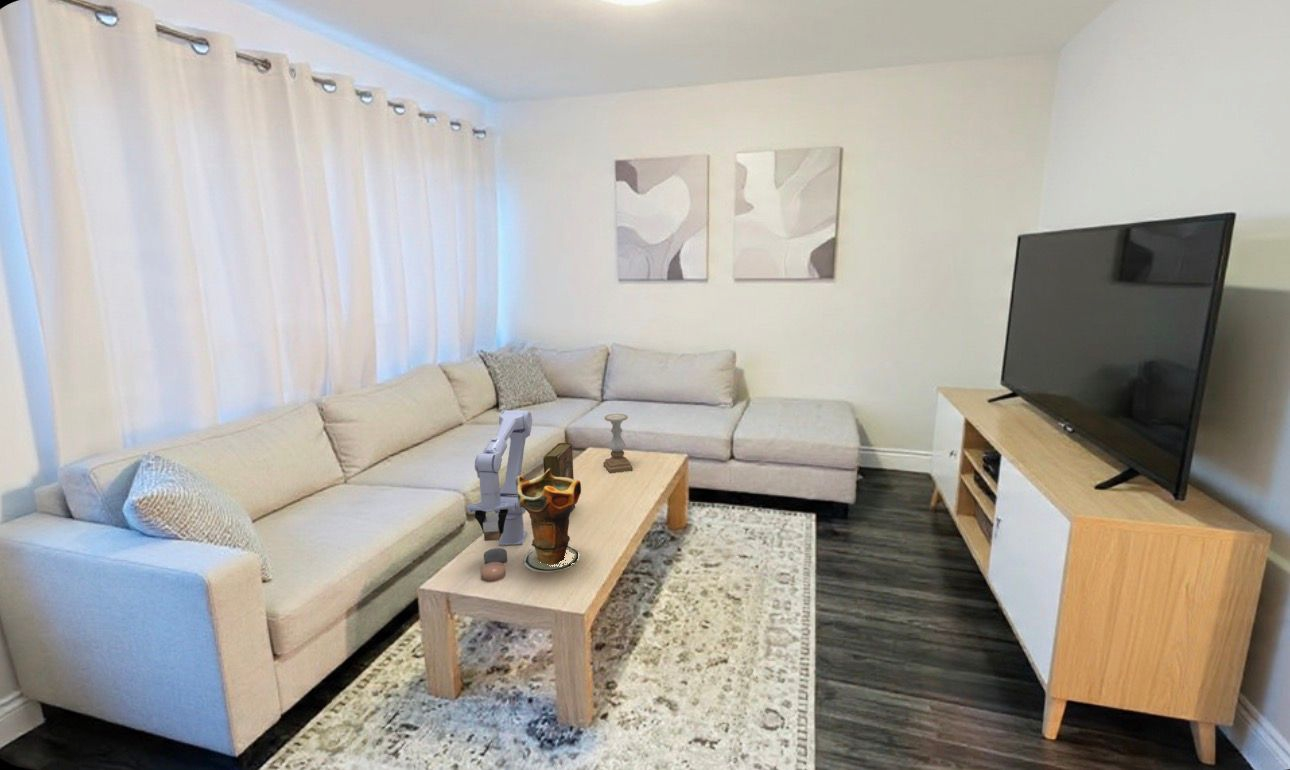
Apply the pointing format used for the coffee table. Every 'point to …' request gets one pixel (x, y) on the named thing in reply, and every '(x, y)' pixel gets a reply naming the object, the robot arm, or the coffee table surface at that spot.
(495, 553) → the stand
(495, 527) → the housing
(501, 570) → the stand
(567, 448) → the book
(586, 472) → the coffee table surface
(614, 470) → the candle holder
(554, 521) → the decorative vase
